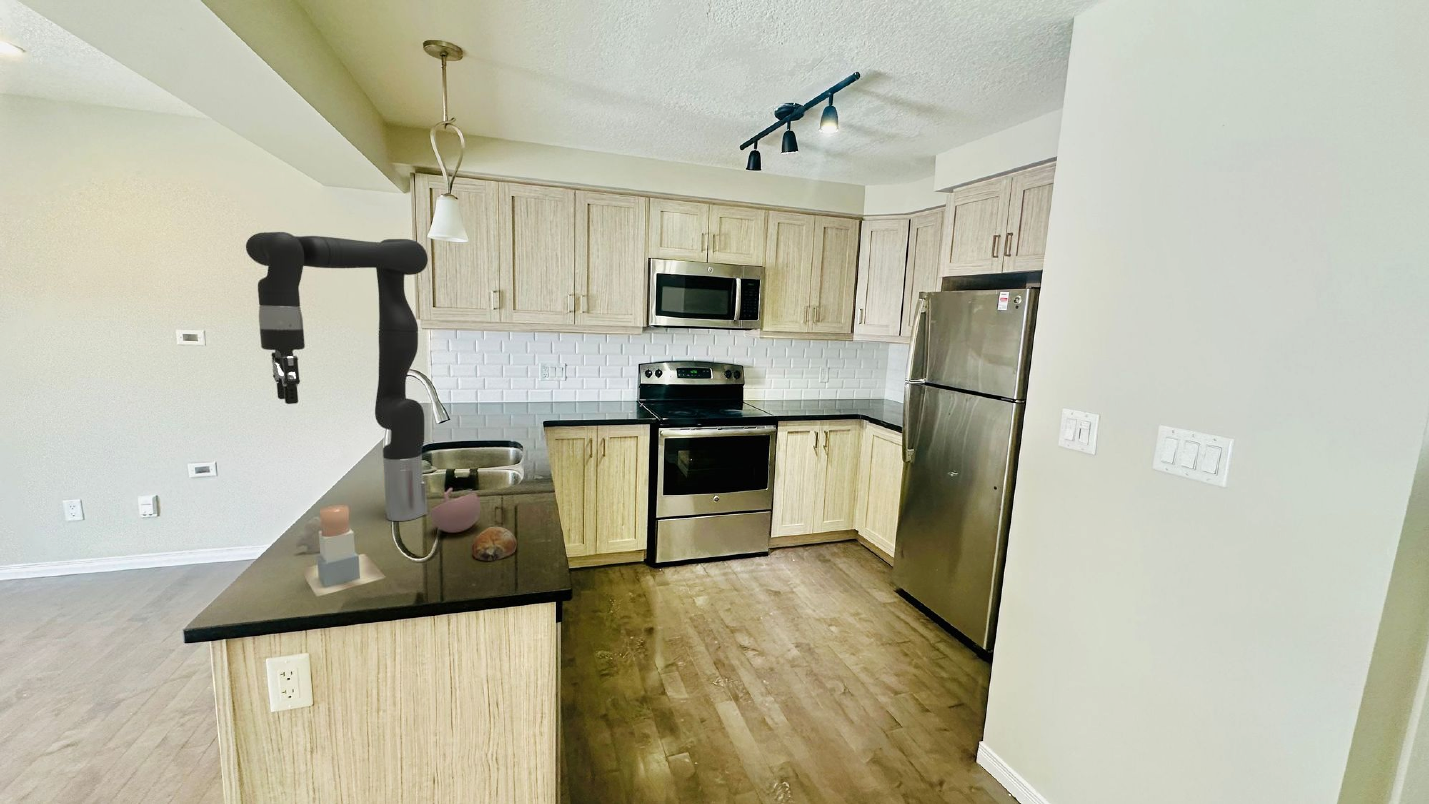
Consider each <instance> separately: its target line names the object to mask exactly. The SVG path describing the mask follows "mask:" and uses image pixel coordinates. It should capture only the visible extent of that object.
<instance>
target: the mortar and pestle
mask: <svg viewBox="0 0 1429 804" xmlns="http://www.w3.org/2000/svg"><path fill="white" fill-rule="evenodd" d="M452 492H453V487H449V488H448V489H447V491H445V492H443V495H442V496H443V499H444V500H443V501H444V502H443V503H441V504H439V505H436V506H434V507H432V508H430V509H429V516H430V519H431V522H432V523H433V525H434V526H435V527H436V528H438V529H439V530H441V531H443V532H446V533H450V534H452V533H453V534H454V533H455V534H456V533H461V532H464V531H466V530H468V529H469V528H471V527H472V526H473V525H474V524H475V523H476V522H477V521H478V519H479V517H480V513H481V502H480V499H479V497H478V495H477V494H476V493H475V492H473V493H469V494H466V495H462V496H461V495H460V496H459V497H457V498H454V499H451V500H450V497H449V496H450V495H451V493H452Z"/></svg>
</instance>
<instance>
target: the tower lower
mask: <svg viewBox="0 0 1429 804" xmlns="http://www.w3.org/2000/svg"><path fill="white" fill-rule="evenodd" d="M358 555H359V554H358V553H357V552H356V551H355V556H352V557H348V558H344V559H339V560H335V561H331V562H327V563H326V562H325V560H324V559H323V558H322V556H321V555H320V553H319V554H316V560H317V565H318V575H319V579H320V580H321V582H322V583H323V585H324V586H325V588H327V587H331V586H334V585H338V584H342V583H345V582H349V581H353V580H357V579H360V569H359V556H358Z"/></svg>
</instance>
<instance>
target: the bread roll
mask: <svg viewBox="0 0 1429 804" xmlns="http://www.w3.org/2000/svg"><path fill="white" fill-rule="evenodd" d="M517 544H518V541H517V539H516V537H515V535H514V533H512V532H511V531H510V530H509V529H506V528H504V527H501V526H490V527H488V528H486V529H484V530H483V531H482V532H480V533H479V534H478V535H477V536H475V538H474V540H473V542H472V546H471V552H472V555H473V558H475V559H476V560H478V561H484V562H485V561H487V562H491V561H497V560H502V559H504V558H507V557H508V558H509V557H510V556H511V555H513V554H514V553H515V551H516V549H517Z"/></svg>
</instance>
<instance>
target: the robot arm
mask: <svg viewBox="0 0 1429 804" xmlns="http://www.w3.org/2000/svg"><path fill="white" fill-rule="evenodd" d="M245 250H246V253H247V255H248V256H249V257H250V258H251V260H253V261H254V262H255V263H257V264H259V265H261V266H265V267H267V274H266V275H265V277H263V278H261V279H260V280H258V283H257V294H258V305H259V306H258V324H259V325H258V326H259V335H260V347H261V349H263V350H266V351H267V350H268V351H273V352H271V363H272V373H273V374H272V377H273V379H274V382H275V383H276V391H277V392H276V393H277V398H278V399H279V400H284V403H285V404H287V405H292V404H294V405H295V404H298V403H299V394H298V387H299V385H300V383H301V380H300V374H299V373H300V371H299V362H298V361H299V357H298V356H297V355H294V351H295V350H297V351H298V350H304V349H305V348H306V347H305V345H306V343H305V335H304V334H305V333H304V332H305V331H304V319H303V314H302V310H301V301H300V289H299V287H300V283H301V280H302V275H303V272H304V271H303V270H304V267H309V268H317V269H320V268H321V269H367V268H368V269H373V268H375V269H376V270H375V271H376V278H377V288H378V318H379V319H378V380H377V381H378V382H377V390H376V391H377V392H376V397H375V398H376V399H375V408H374V417H375V420H376V422H377V424H378V425H379V426H380V427H381V428H383V429H385V430H389V431H390V442H389V443H388V444H385V445H384V446H383V448H382V456H383V457H382V459H383V476H384V494H385V514H386V519H387V520H389V521H392V522H393V521H394V522H402V521H403V522H405V521H410V520H415V519H418V518H420V517H422V516H424V515H428V512H427V511H428V508H427V491H426V490H427V488H426V487H427V486H426V484H427V483H426V481H424V478H423V459H422V457H423V456H422V454H423V453H422V450H423V446H424V444H425V413H424V412H425V411H424V409H423V406H422V405H421V404H420V402H418V401H417V400H415V399H411V398H407V393H406V391H407V390H406V389H407V388H406V387H407V385H406V384H407V377H408V374H409V371H410V369H411V367H412V365H413V362H414V360H415V359H416V356H417V353H418V347H419V333H418V332H419V325H418V322H417V319H416V316H415V314H414V313H413V310H412V308H411V307H410V304H409V302H408V300H407V297H406V293H405V276H411V275H417V274H420V273H422V272H423V271H424V270H425V269H426V267H427V265H428V260H429V259H428V254H427V251H426V249H425V248H424V246H423V245H422V244H420V243H419V242H418V241H415V240H414V239H408V238H389V239H388V238H386V239H383V240H382V241H364V240H358V239H357V240H356V239H351V238H350V239H349V238H342V237H339V238H338V237H330V236H323V235H322V236H320V235H304V236H303V235H302V236H301V235H300V236H297V235H296V236H295V235H293V234H291V233H289V232H284V231H274V232H273V231H272V232H270V231H269V232H258V233H255V234H253V235H251V236H250V237H249V238H248V239H247V241H246V243H245Z"/></svg>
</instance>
